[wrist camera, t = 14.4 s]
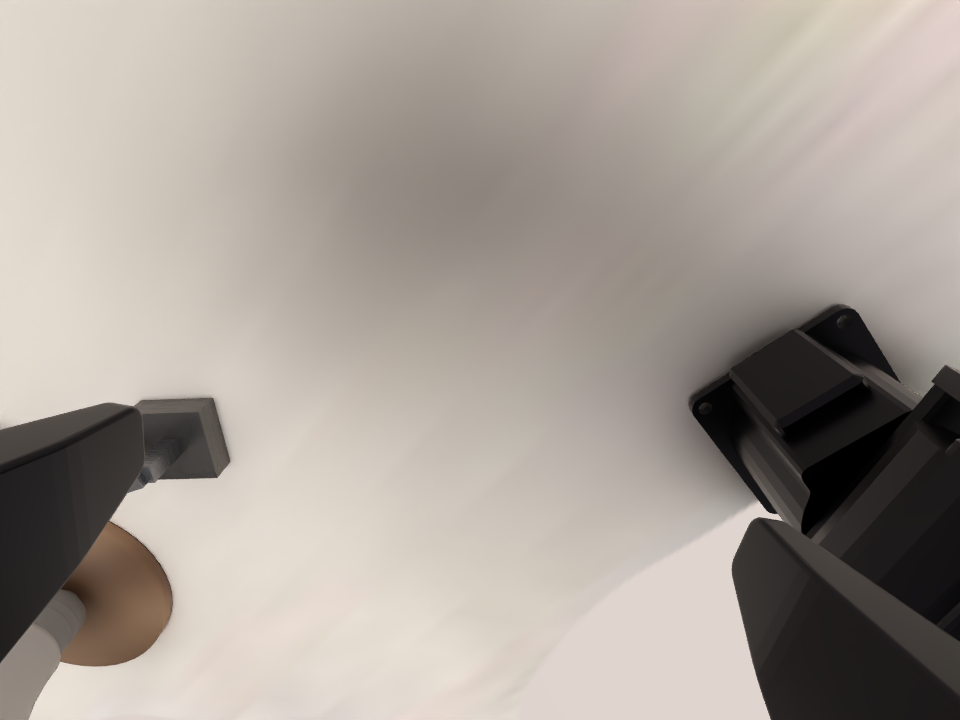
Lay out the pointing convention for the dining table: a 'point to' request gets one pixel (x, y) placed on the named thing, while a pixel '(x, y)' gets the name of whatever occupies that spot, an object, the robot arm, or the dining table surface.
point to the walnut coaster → (118, 601)
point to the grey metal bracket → (181, 440)
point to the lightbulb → (38, 655)
